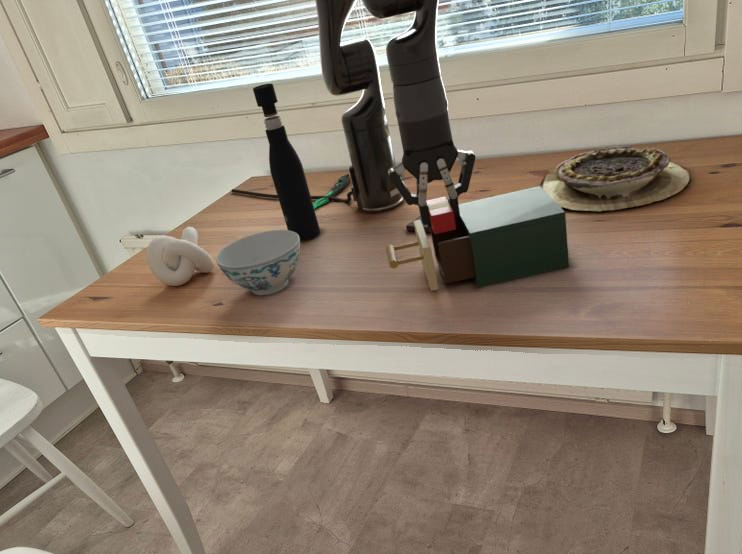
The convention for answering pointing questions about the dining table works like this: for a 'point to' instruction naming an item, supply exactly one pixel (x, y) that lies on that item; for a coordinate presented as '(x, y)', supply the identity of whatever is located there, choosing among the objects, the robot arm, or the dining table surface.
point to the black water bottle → (287, 170)
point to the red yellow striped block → (441, 215)
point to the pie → (614, 179)
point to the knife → (334, 190)
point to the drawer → (440, 254)
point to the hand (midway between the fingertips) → (441, 222)
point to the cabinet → (515, 235)
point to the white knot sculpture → (178, 257)
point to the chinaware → (261, 260)
